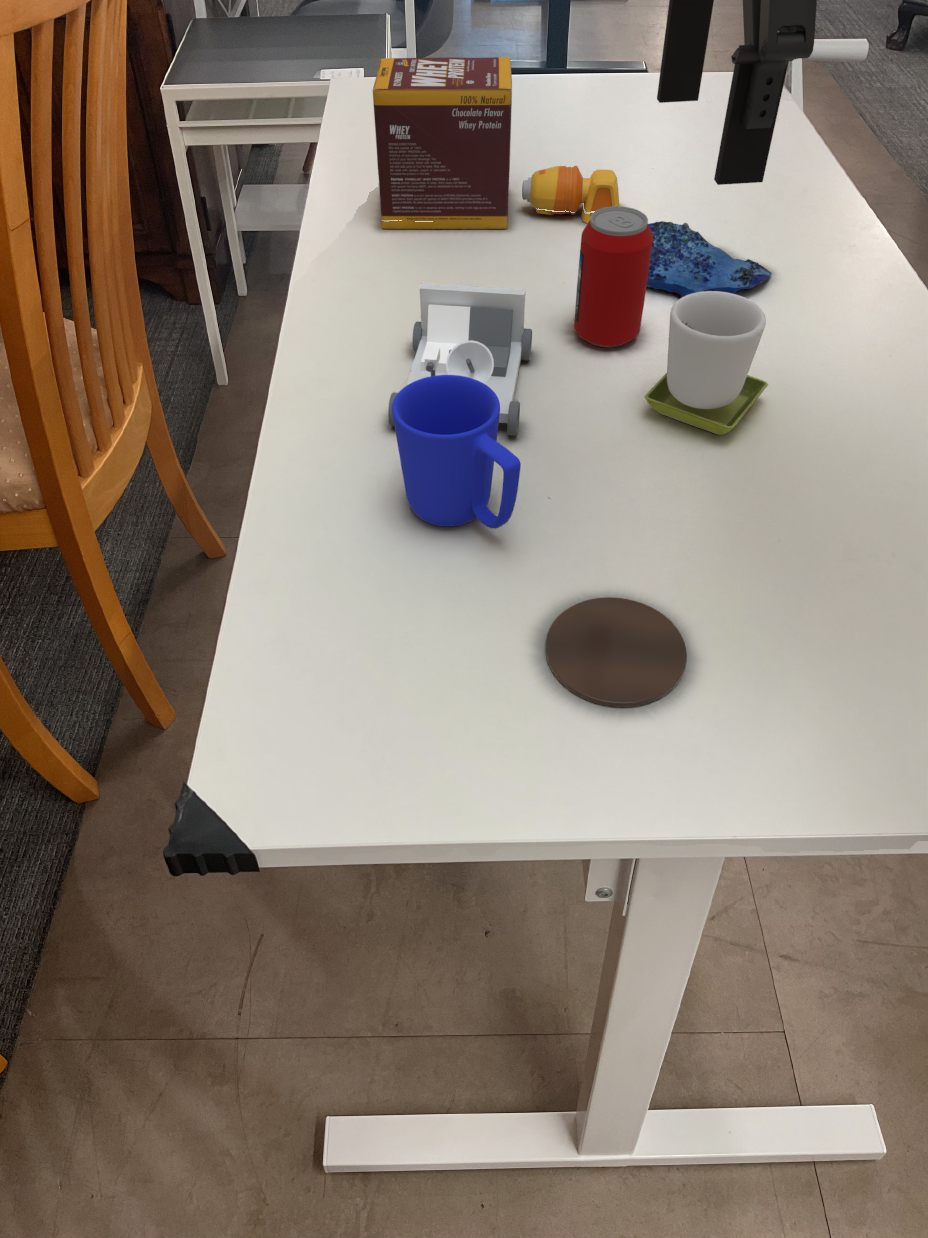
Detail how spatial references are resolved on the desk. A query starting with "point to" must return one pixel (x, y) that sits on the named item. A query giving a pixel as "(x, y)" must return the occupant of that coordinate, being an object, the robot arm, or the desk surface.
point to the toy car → (472, 340)
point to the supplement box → (443, 142)
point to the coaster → (616, 652)
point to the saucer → (706, 418)
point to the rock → (696, 263)
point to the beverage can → (612, 276)
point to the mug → (453, 451)
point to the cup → (712, 347)
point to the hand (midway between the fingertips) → (705, 137)
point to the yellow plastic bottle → (571, 190)
